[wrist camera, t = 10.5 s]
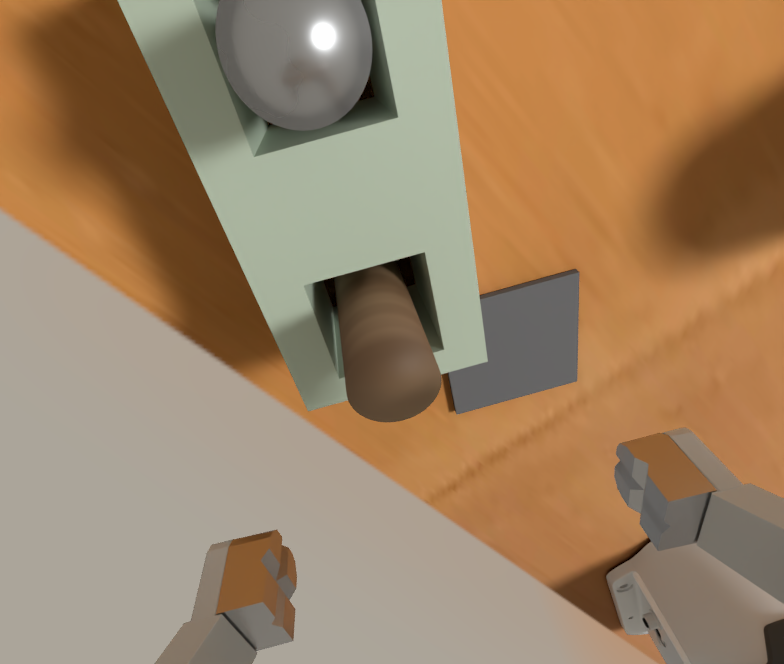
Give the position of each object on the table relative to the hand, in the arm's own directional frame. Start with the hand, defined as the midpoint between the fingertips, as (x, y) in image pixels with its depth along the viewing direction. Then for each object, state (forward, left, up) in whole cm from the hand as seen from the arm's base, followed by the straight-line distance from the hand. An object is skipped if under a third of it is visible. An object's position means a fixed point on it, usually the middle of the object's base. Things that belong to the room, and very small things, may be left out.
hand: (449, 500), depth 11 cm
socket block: (+5, +1, -14) cm, 15 cm away
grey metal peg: (+9, +1, -14) cm, 17 cm away
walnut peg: (0, +1, -14) cm, 14 cm away
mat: (-8, -6, -14) cm, 17 cm away
